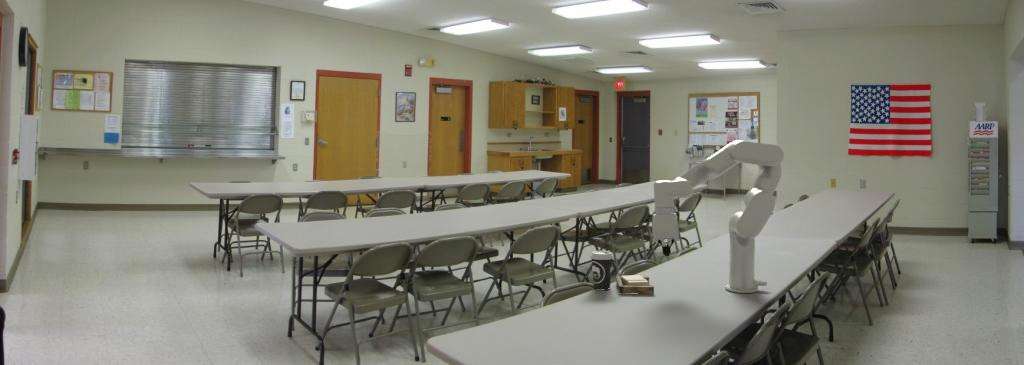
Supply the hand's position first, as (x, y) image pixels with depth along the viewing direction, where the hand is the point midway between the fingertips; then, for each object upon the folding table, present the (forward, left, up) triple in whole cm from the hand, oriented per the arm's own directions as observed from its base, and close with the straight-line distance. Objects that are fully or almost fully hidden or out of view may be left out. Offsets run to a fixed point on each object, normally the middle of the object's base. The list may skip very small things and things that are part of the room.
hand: (666, 255), depth 267 cm
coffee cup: (+26, 0, -14) cm, 30 cm away
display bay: (+12, 0, -14) cm, 18 cm away
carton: (+13, 0, -14) cm, 19 cm away
